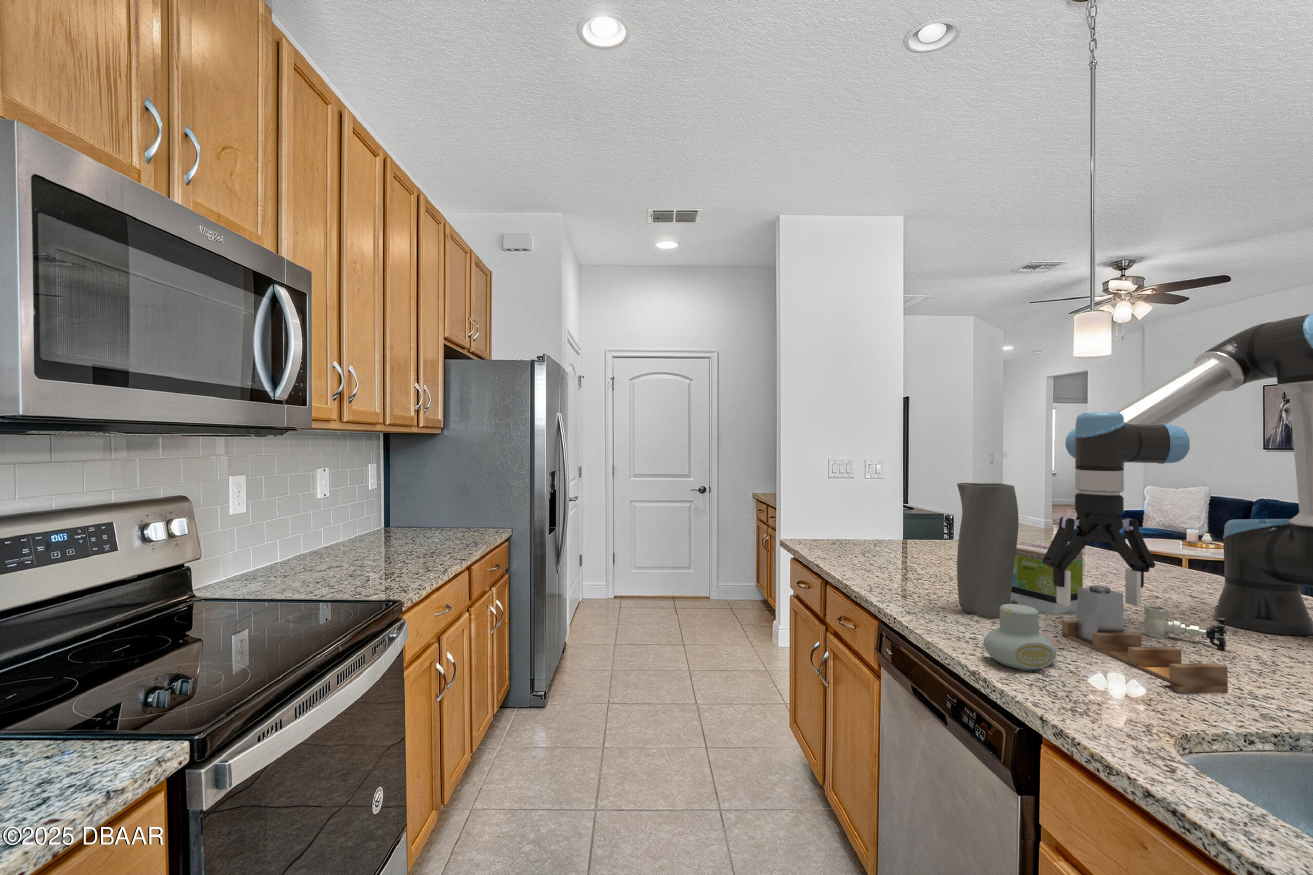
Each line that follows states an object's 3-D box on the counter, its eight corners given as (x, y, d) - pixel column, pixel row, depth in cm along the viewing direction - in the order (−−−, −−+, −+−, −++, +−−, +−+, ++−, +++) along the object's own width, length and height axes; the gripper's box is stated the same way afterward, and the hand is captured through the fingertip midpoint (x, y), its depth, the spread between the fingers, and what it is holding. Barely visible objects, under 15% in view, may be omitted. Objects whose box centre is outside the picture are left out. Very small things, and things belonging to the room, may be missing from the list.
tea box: (994, 603, 148) (994, 543, 148) (1022, 599, 152) (1021, 541, 152) (1056, 620, 134) (1055, 553, 134) (1084, 615, 138) (1084, 550, 138)
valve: (1140, 642, 119) (1224, 658, 110) (1140, 608, 119) (1223, 621, 110) (1145, 635, 123) (1226, 649, 114) (1145, 603, 123) (1226, 614, 115)
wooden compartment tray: (1101, 640, 119) (1101, 620, 119) (1227, 692, 94) (1227, 666, 94) (1062, 640, 119) (1062, 620, 119) (1178, 693, 94) (1177, 667, 94)
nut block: (1102, 638, 117) (1102, 584, 117) (1123, 647, 112) (1123, 590, 112) (1077, 639, 117) (1077, 584, 117) (1097, 647, 112) (1097, 590, 112)
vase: (1005, 610, 141) (1004, 482, 142) (1028, 625, 129) (1027, 486, 130) (949, 608, 143) (948, 482, 144) (966, 622, 131) (965, 485, 132)
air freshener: (1034, 656, 110) (1034, 601, 110) (1066, 673, 102) (1065, 614, 102) (975, 656, 110) (975, 601, 110) (1002, 673, 102) (1002, 614, 102)
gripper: (1145, 492, 119) (1145, 600, 119) (1022, 490, 118) (1021, 598, 118) (1179, 495, 112) (1179, 610, 111) (1048, 493, 111) (1047, 608, 110)
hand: (1098, 604), depth 115 cm, fingers open, 13 cm apart
